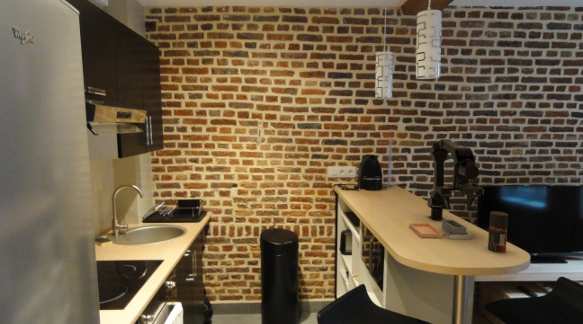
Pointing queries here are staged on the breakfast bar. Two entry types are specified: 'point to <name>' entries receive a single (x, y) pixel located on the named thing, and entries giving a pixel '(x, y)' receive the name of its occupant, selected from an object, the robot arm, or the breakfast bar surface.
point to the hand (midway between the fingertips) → (458, 208)
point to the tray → (425, 230)
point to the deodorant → (498, 232)
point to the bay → (457, 235)
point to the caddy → (453, 227)
